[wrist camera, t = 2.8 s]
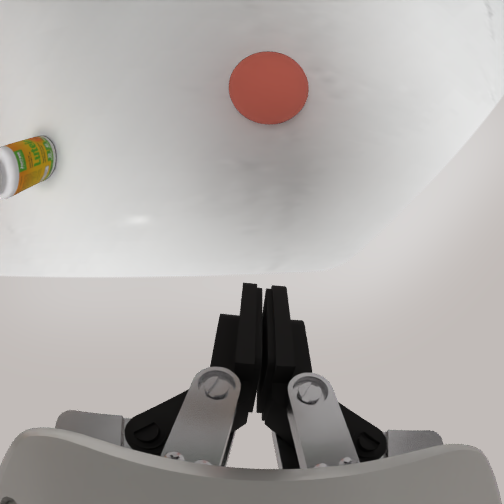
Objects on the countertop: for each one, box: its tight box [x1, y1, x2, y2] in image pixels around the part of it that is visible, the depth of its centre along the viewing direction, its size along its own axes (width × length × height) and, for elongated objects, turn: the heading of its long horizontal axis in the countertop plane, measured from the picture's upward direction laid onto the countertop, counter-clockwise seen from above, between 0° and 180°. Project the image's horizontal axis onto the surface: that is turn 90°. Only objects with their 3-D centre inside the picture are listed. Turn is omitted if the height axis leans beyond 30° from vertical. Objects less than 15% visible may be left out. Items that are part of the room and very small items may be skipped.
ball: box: [229, 52, 308, 124], centre depth 18 cm, size 6×6×6 cm
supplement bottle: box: [0, 136, 56, 199], centre depth 19 cm, size 5×5×10 cm
